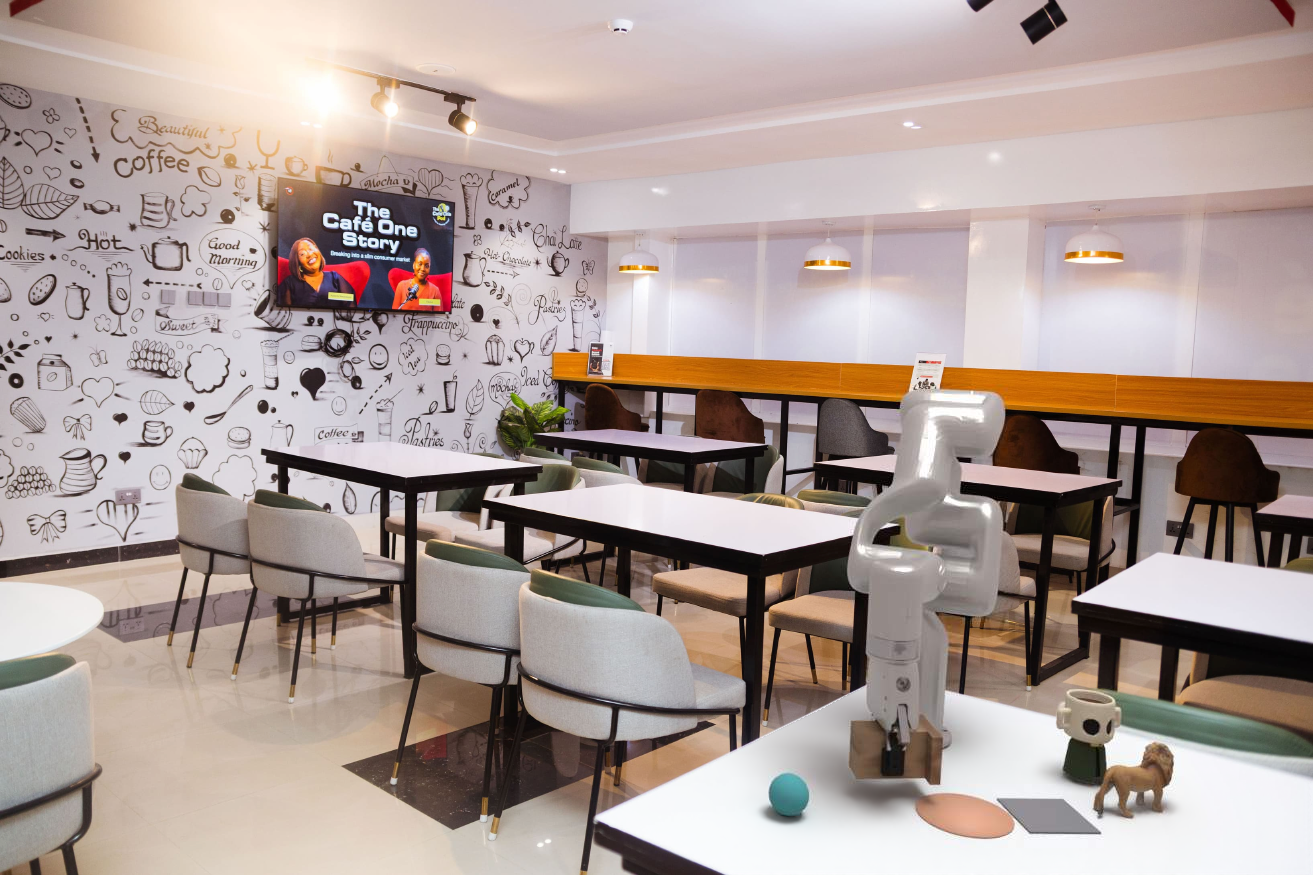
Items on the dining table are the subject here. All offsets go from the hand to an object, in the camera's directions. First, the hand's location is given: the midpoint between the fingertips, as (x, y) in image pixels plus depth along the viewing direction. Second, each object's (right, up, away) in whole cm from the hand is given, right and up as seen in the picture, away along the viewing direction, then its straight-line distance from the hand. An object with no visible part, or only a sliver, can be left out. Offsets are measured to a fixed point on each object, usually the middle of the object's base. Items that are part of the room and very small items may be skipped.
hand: (886, 765), depth 134 cm
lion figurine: (+35, -6, -1) cm, 36 cm away
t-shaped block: (0, -1, 0) cm, 1 cm away
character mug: (+33, -5, +9) cm, 35 cm away
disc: (+9, -5, -6) cm, 12 cm away
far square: (+21, -5, -5) cm, 23 cm away
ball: (-15, -1, -8) cm, 17 cm away
